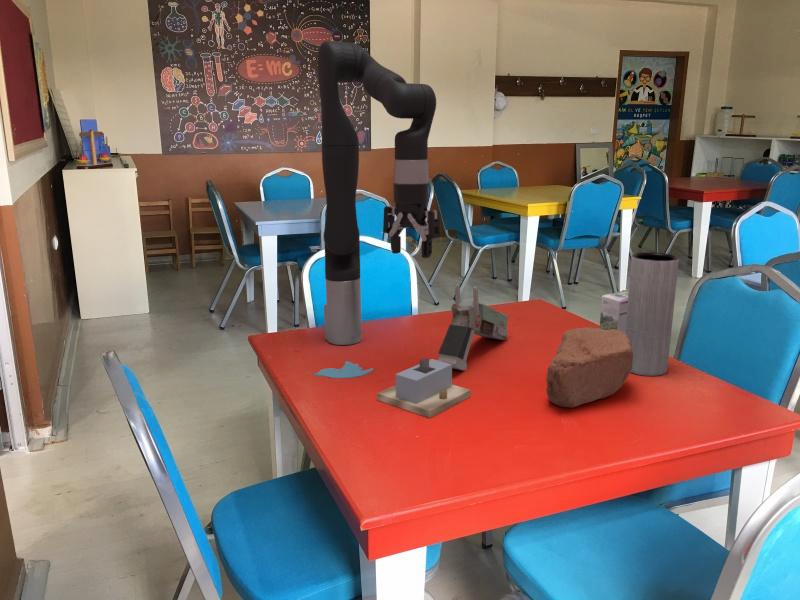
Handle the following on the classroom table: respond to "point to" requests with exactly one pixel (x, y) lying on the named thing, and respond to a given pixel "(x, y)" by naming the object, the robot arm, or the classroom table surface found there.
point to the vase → (651, 311)
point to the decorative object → (344, 371)
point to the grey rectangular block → (423, 381)
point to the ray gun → (470, 329)
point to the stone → (588, 366)
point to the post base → (430, 404)
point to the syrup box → (613, 312)
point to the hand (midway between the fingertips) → (410, 255)
